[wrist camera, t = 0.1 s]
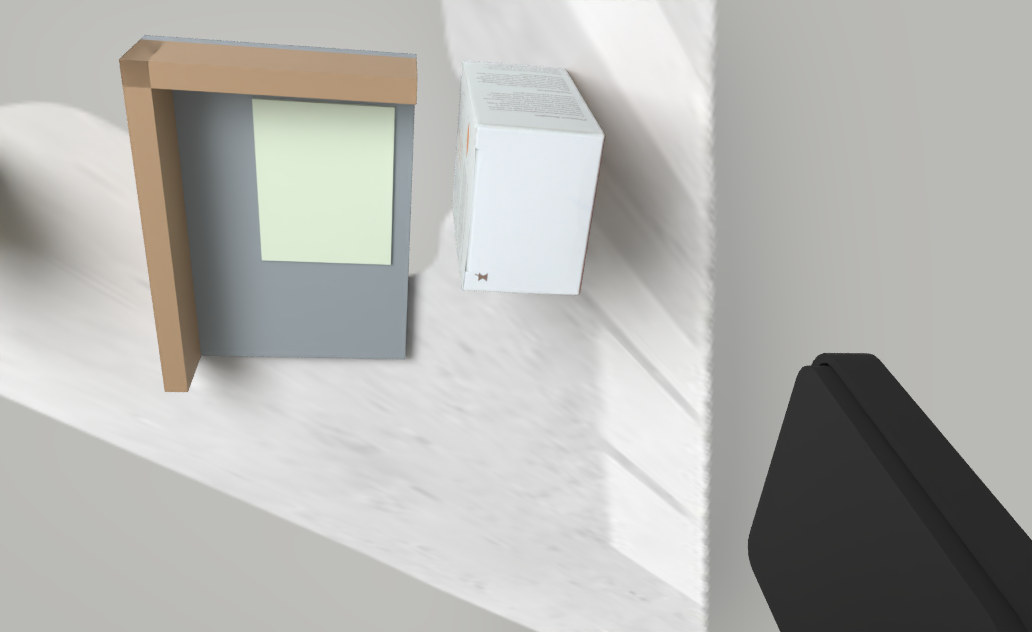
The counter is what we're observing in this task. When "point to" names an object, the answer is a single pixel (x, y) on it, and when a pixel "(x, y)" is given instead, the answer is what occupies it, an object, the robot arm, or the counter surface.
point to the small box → (523, 179)
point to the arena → (254, 203)
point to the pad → (324, 180)
